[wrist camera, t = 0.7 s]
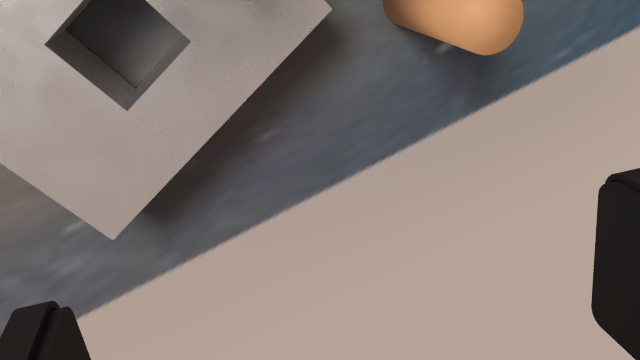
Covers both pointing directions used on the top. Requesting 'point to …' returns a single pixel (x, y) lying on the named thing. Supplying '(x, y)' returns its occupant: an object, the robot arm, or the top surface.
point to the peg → (461, 21)
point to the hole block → (130, 97)
